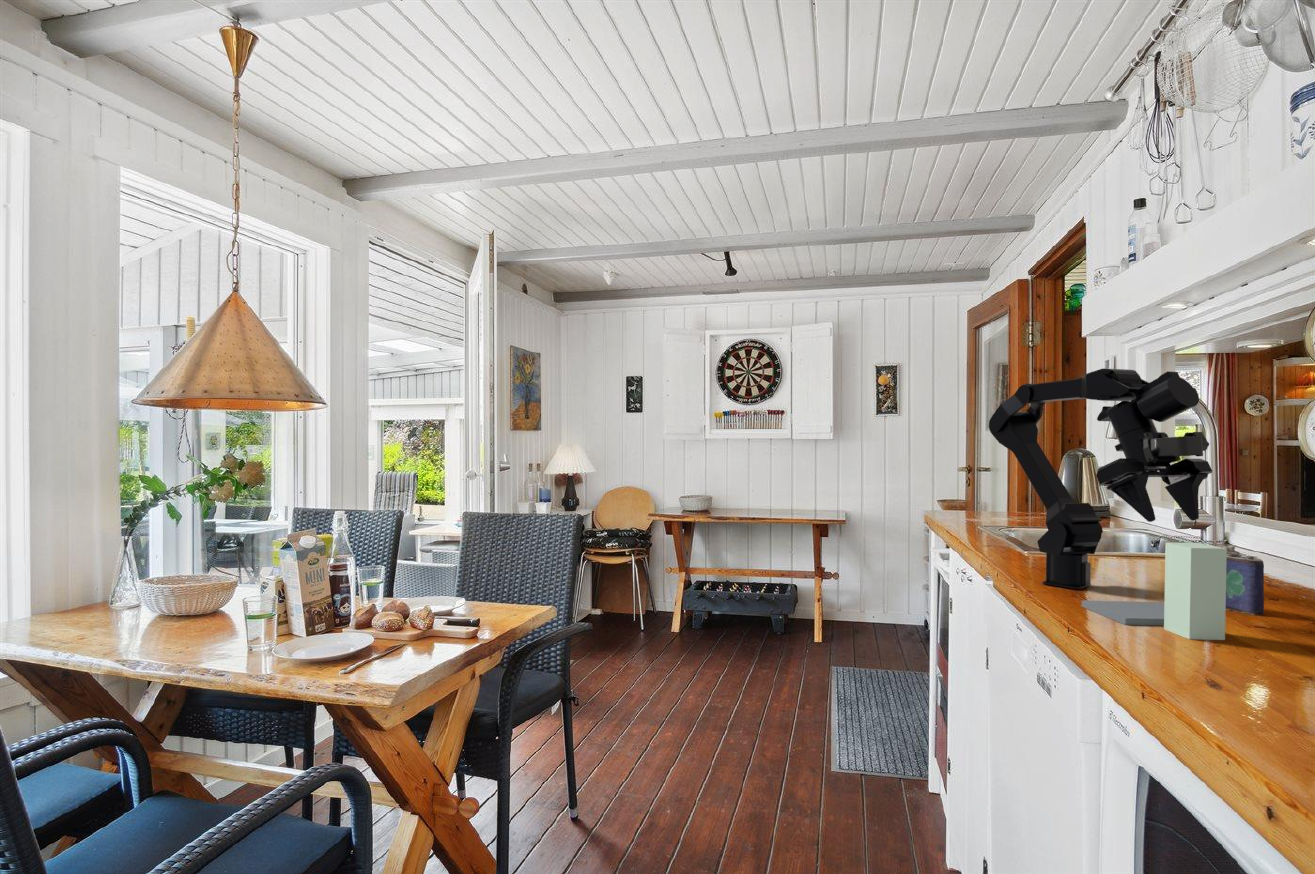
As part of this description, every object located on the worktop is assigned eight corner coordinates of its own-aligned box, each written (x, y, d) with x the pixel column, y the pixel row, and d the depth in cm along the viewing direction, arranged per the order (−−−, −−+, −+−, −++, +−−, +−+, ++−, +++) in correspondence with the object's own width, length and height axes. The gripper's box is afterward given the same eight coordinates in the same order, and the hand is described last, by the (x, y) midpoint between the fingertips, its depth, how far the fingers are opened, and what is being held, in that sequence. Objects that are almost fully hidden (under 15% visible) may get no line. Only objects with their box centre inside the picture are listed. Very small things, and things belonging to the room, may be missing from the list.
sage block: (1164, 629, 103) (1165, 542, 103) (1197, 629, 103) (1199, 542, 103) (1189, 639, 98) (1191, 548, 98) (1224, 639, 98) (1226, 548, 98)
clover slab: (1193, 603, 119) (1194, 541, 119) (1201, 601, 120) (1203, 540, 120) (1259, 616, 111) (1261, 550, 111) (1267, 614, 112) (1269, 549, 112)
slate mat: (1081, 606, 116) (1081, 600, 116) (1165, 607, 116) (1165, 601, 116) (1125, 624, 105) (1125, 618, 105) (1218, 626, 105) (1218, 619, 105)
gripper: (1134, 411, 109) (1175, 504, 103) (1222, 414, 114) (1265, 503, 108) (1079, 440, 119) (1113, 527, 112) (1162, 441, 124) (1199, 525, 117)
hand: (1173, 520), depth 112 cm, fingers open, 9 cm apart
